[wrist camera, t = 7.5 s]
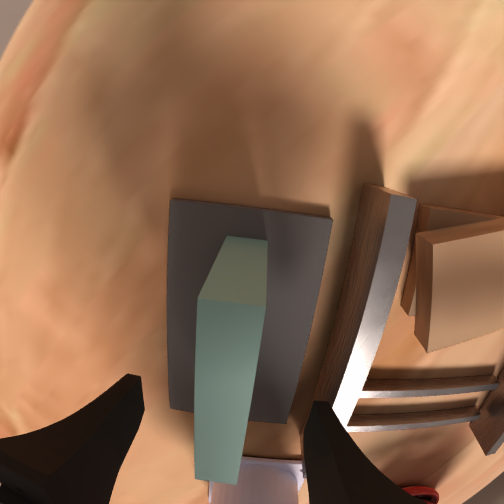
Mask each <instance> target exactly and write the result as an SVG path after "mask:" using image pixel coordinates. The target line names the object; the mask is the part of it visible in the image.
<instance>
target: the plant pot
mask: <svg viewBox="0 0 504 504" xmlns="http://www.w3.org/2000/svg"><path fill="white" fill-rule="evenodd" d="M402 489H403V490H405V491H406V492H408V493H409V494H411V495H412V496H414V497H416V498H418V499H420V500H422V501H423V502H425V503H427V504H437V503H438V501H439V494H438V493H437V491H436V490H435V489H432V488H430V487H425V486H412V487H406V488H402Z"/></svg>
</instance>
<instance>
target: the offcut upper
mask: <svg viewBox="0 0 504 504" xmlns="http://www.w3.org/2000/svg"><path fill="white" fill-rule="evenodd" d="M415 234H416V312H415V331H414V334H415V336H416V337H417V339H418V340H419V342H420V343H421V345H422V346H423V347H424V349H425V350H426V352H427V353H430V352H433V351H437V350H440V349H443V348H447V347H450V346H453V345H456V344H460V343H463V342H466V341H469V340H472V339H475V338H478V337H481V336H483V335H486V334H489V333H492V332H495V331H497V330H500V329H503V328H504V217H503V218H498V219H492V220H486V221H481V222H475V223H470V224H464V225H459V226H453V227H447V228H442V229H436V230H430V231H425V232H419V233H415Z"/></svg>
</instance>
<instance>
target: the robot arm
mask: <svg viewBox="0 0 504 504" xmlns="http://www.w3.org/2000/svg"><path fill="white" fill-rule="evenodd" d="M144 410H145V407H144V399H143V391H142V382H141V376H137V375H132V374H126V375H125V376H124V377H122V378H121V379H120V380H119V381H118V382H116V383H115V384H114V385H113V386H111V387H110V388H109V389H108V390H107V391H105V392H104V393H103V394H101V395H100V396H99V397H97V398H96V399H95V400H93V401H92V402H91V403H89V404H88V405H86V406H85V407H83V408H82V409H80V410H79V411H77V412H75V413H74V414H72V415H70V416H68V417H67V418H65V419H63V420H61V421H59V422H56V423H54V424H52V425H49V426H47V427H45V428H42V429H39V430H36V431H33V432H30V433H26V434H22V435H18V436H13V437H7V438H1V439H0V483H1V486H0V504H109V501H110V498H111V494H112V491H113V487H114V484H115V481H116V478H117V475H118V472H119V470H120V467H121V465H122V463H123V461H124V459H125V456H126V454H127V452H128V450H129V448H130V446H131V444H132V442H133V440H134V438H135V435H136V433H137V431H138V429H139V426H140V423H141V420H142V417H143V414H144ZM303 453H304V461H305V469H306V476H307V484H308V491H309V504H427V503H425V502H423V501H422V500H420V499H418V498H416V497H414V496H412V495H411V494H409V493H408V492H406V491H405V490H403V489H402V488H400V487H399V486H397V485H396V484H395V483H394V482H392V481H391V480H390V479H389V478H387V477H386V476H385V475H384V474H383V473H382V472H380V471H379V470H378V469H377V468H376V467H375V466H374V465H373V464H372V463H371V462H370V460H369V459H368V458H367V457H366V456H365V455H364V454H363V452H362V451H361V450H360V449H359V447H358V446H357V445H356V443H355V442H354V441H353V439H352V438H351V437H350V435H349V434H348V432H347V431H346V429H345V428H344V426H343V425H342V423H341V422H340V420H339V418H338V417H337V415H336V413H335V412H334V410H333V408H332V406H331V405H330V403H329V402H328V401H313V404H312V407H311V410H310V413H309V416H308V419H307V422H306V425H305V428H304V431H303ZM304 480H305V478H303V472H302V461H298V460H278V459H264V458H253V457H243V456H242V458H241V463H240V469H239V474H238V480H237V485H233V484H225V483H218V482H211V481H209V503H210V504H299V503H298V492H299V490H300V488H301V486H302V484H303V482H304Z"/></svg>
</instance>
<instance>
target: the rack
mask: <svg viewBox="0 0 504 504" xmlns="http://www.w3.org/2000/svg"><path fill="white" fill-rule="evenodd" d="M416 203H417V199H415V198H413V197H410V196H408V195H405V194H402V193H400V192H397V191H394V190H392V189H389V188H386V187H382V186H377V185H372V184H366V183H363V188H362V194H361V200H360V205H359V211H358V217H357V222H356V227H355V233H354V238H353V243H352V248H351V253H350V257H349V262H348V267H347V271H346V276H345V280H344V285H343V289H342V293H341V297H340V302H339V306H338V310H337V314H336V318H335V322H334V326H333V329H332V333H331V337H330V341H329V344H328V348H327V352H326V355H325V359H324V362H323V366H322V369H321V372H320V376H319V379H318V382H317V386H316V389H315V392H314V395H313V399H312V402H311V405H310V408H309V411H308V414H307V417H306V420H305V423H304V426H303V429H302V432H301V435H300V443H301V457H302V472H303V478H307V476H306V469H305V461H304V453H303V431H304V428H305V425H306V422H307V419H308V416H309V413H310V410H311V407H312V404H313V401H328V402H329V403H330V405H331V406H332V408H333V410H334V412H335V413H336V415H337V417H338V418H339V420H340V422H341V423H342V425H343V426H344V428H345V429H346V431H347V432H369V431H390V430H404V429H416V428H426V427H435V426H442V425H450V424H457V423H463V422H469V421H472V422H471V424H470V425H469V426H470V428H471V430H472V432H473V433H474V435H475V437H476V439H477V441H478V442H479V444H480V446H481V448H482V450H483V452H484V454H485V455H486V456H487V455H490V454H494V453H495V452H496V451H497V450H498V448H499V447H500V446H501V445H502V443H503V442H504V367H503V369H502V371H501V373H500V375H499V377H498V379H496V377H495V376H494V375H484V376H472V377H458V378H441V379H410V380H371V379H366V378H367V376H368V373H369V370H370V368H371V365H372V362H373V360H374V357H375V354H376V351H377V348H378V346H379V343H380V340H381V337H382V334H383V331H384V328H385V325H386V322H387V318H388V315H389V312H390V309H391V306H392V302H393V299H394V295H395V292H396V288H397V285H398V281H399V277H400V274H401V270H402V266H403V262H404V258H405V254H406V250H407V246H408V241H409V237H410V233H411V228H412V223H413V218H414V214H415V208H416ZM486 390H491V391H490V393H489V395H488V397H487V398H486V400H485V402H484V403H483V405H482V407H481V408H480V410H479V411H478V409H477V408H476V406H472V407H465V408H457V409H449V410H439V411H429V412H416V413H400V414H373V415H352V412H353V410H354V408H355V405H356V403H357V400H358V398H398V397H422V396H437V395H450V394H461V393H470V392H479V391H486Z"/></svg>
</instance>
